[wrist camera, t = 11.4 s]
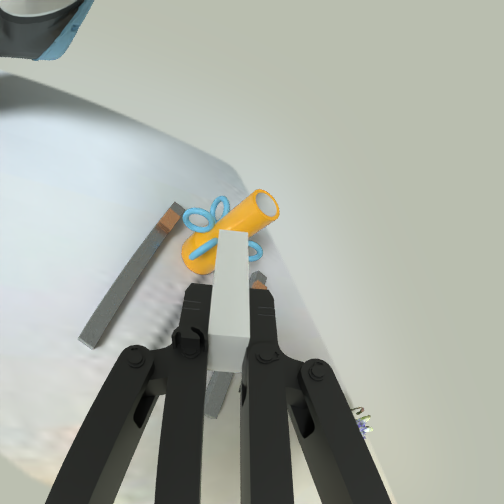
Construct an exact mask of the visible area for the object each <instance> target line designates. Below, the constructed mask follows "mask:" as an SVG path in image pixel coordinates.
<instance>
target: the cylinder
mask: <svg viewBox="0 0 504 504" xmlns="http://www.w3.org/2000/svg"><path fill="white" fill-rule="evenodd" d="M221 201H222V202H223V204H224V211H223V214H222V217H221V218H220V219H219V220H218V221H217V220H216V218H215V211H216V207H217V205H218V204H219V203H220V202H221ZM229 210H230V204H229V201H228V199H227V198H226V197H225V196H219V197H217V198H216V199H215V200H214V201H213V203H212V205H211V209H210V213H209V212H208V211H206V210H204V209H201V208H190V209H188V210H186V211H185V212H184V214H183V222H184V224H185V225H186V226H187V227H188V228H189V229H191V230H192V231H195V233H193V234H192V235H191V236H190V237H189V238H188V239H187V240H186V241H185V242H184V244H183V246H182V253H181V254H182V258H183V261H184V263H185V265H186V266H187V267H188V268H189V269H190V270H191V271H193V272H194V273H197V274H200V275H206V274H209V273H211V272H213V271H214V270H215V262H216V254H217V245H218V237H219V229H221V230H230V231H239V232H248V238H250V237H251V236H253V235H254V234H256V233H257V232H258V231H260V230H261V229H263V228H264V227H266V226H267V225H269V224H270V223H271V222H273V221H275V220H276V219H277V218H278V217H279V207H278V204H277V203H276V201H275V199H274V198H273V197H272V196H271V195H270V194H269V193H268V192H266V191H264V190H261V189H258V190H255V191H254V192H253V193H252V194H250V195H249V196H248V197H247V198H246V199H244V200H243V201H242V202H241V203H240V204H238V205H237V206H236V207H235V208H234V209H232V210H231V211H230V212H229ZM191 214H199V215H202V216H204V217H205V218H206V219H207V220H208V221H209V225H206V226H203V227H199V226H196V225H194V224H192V223H191V222H190V221H189V216H190V215H191ZM248 246H250V247H252V248H254V249H255V250H256V251H257V254H256V255H254V256H249V262H252V261H256V260H259V259H260V258H261V257H262V255H263V250H262V248H261V247H260V245H258V244H257V243H255V242H253V241H250V240H248Z"/></svg>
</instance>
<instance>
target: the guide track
mask: <svg viewBox="0 0 504 504" xmlns="http://www.w3.org/2000/svg"><path fill="white" fill-rule="evenodd" d="M184 211H185V209H183V208H182V207H181V206H180V205H179V204H177V203H176V202H174V203H173V204H172V205H171V207H170V208H169V209H168V210H167V212H166V213H165V214H164V215H163V217H162V218H161V219H160V221H159V222H158V223H157V224H156V226H155V227H154V228H153V230H152V231H151V232H150V234H149V235H148V236H147V237H146V239H145V240H144V241H143V243H142V244H141V246H140V247H139V248H138V250H137V251H136V252H135V254H134V255H133V256H132V258H131V259H130V261H129V262H128V263H127V265H126V266H125V268H124V269H123V270H122V272H121V273H120V275H119V276H118V278H117V279H116V280H115V282H114V283H113V285H112V286H111V288H110V289H109V291H108V292H107V294H106V295H105V297H104V298H103V300H102V301H101V303H100V304H99V306H98V307H97V309H96V310H95V312H94V313H93V315H92V317H91V318H90V320H89V321H88V323H87V324H86V326H85V328H84V329H83V331H82V333H81V334H80V336H79V337H78V340H79V341H81V342H82V343H83V344H85V345H86V346H88V347H89V348H90V349H93V348H94V347H95V346H96V344H97V342H98V340H99V339H100V337H101V335H102V334H103V332H104V330H105V329H106V327H107V325H108V324H109V322H110V320H111V319H112V317H113V315H114V314H115V312H116V311H117V309H118V307H119V306H120V304H121V303H122V301H123V299H124V298H125V296H126V295H127V293H128V292H129V290H130V288H131V287H132V285H133V284H134V282H135V281H136V279H137V278H138V276H139V275H140V273H141V272H142V270H143V269H144V267H145V266H146V264H147V263H148V261H149V260H150V258H151V257H152V256H153V254H154V253H155V251H156V250H157V248H158V247H159V245H160V244H161V243H162V241H163V240H164V238H165V237H166V236H167V234H168V233H169V232H170V231H171V230H172V228H173V227H174V225H175V224H176V223H177V221H178V220H179V218H180V216H181V215H182V213H183V212H184ZM266 279H267V277H265V276H264V275H263V274H262V273H261V272H259V271H256V272H255V273H253V274H252V276H251V278H250V281H249V288H255V289H266V290H267V287H266V286H265V282H266ZM233 373H234V372H221V371H214V373H213V375H212V378H211V380H210V383H209V385H208V388H207V390H206V393H205V408H204V415H205V416H207V417H209V418H214V419H217V416H218V414H219V411H220V408H221V406H222V403H223V400H224V398H225V395H226V392H227V389H228V387H229V384H230V381H231V379H232V376H233Z"/></svg>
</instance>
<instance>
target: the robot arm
mask: <svg viewBox="0 0 504 504" xmlns="http://www.w3.org/2000/svg"><path fill="white" fill-rule="evenodd" d="M93 2H94V0H0V57H11V58H24V59H32V60H34V61H38V60H56V59H58V58H59V57H61V56H62V55H63V54H64V53H65V51H66V50H67V48H68V47H69V45H70V43H71V42H72V40H73V38H74V37H75V35H76V33H77V31H78V28H79V26H80V25H81V23H82V22H83V20H84V19H85V17H86V15H87V13H88V11H89V10H90V7H91V6H92V4H93ZM207 370H210V371H221V372H235V373H241V371H242V381H241V384H240V388H239V392H240V476H241V504H294V495H293V480H292V465H291V451H290V438H289V425H288V413H287V409H288V412H289V415H290V418H291V420H292V423H293V426H294V429H295V432H296V434H297V437H298V440H299V443H300V445H301V448H302V451H303V453H304V456H305V459H306V462H307V464H308V467H309V470H310V472H311V475H312V478H313V480H314V483H315V486H316V488H317V491H318V494H319V496H320V499H321V502H322V504H392V503H391V501H390V499H389V496H388V494H387V491H386V489H385V487H384V484H383V482H382V480H381V477H380V475H379V473H378V470H377V468H376V466H375V463H374V461H373V459H372V457H371V454H370V452H369V450H368V447H367V445H366V443H365V441H364V438H363V436H362V434H361V432H360V429H359V427H358V425H357V423H356V420H355V418H354V416H353V414H352V412H351V409H350V407H349V405H348V403H347V401H346V398H345V396H344V394H343V392H342V390H341V387H340V385H339V383H338V381H337V379H336V377H335V374H334V372H333V370H332V368H331V367H330V366H329V364H327V363H326V362H325V361H323V360H320V359H310V360H308V361H306V362H305V363H304V362H301V361H298V360H294V359H292V358H289V357H288V356H286V355H285V354H284V353H283V352H282V351H281V350H280V348H279V346H278V340H277V329H276V319H275V309H274V298H273V297H272V295H271V293H270V292H269V290H266V289H255V288H249V252H248V232H239V231H230V230H221V229H219V237H218V245H217V254H216V262H215V271H214V280H213V285H206V284H197V283H191V284H190V286H189V287H188V288H187V289H186V291H185V296H184V302H183V306H182V312H181V317H180V323H179V327H177V328H176V329H175V330H174V332H173V334H172V344H171V345H170V346H168V347H166V348H162V349H157V350H150V351H149V349H147V348H146V347H144V346H140V345H133V346H129V347H127V348H125V349H124V350H123V351H122V353H121V354H120V356H119V357H118V359H117V361H116V363H115V364H114V366H113V368H112V370H111V372H110V373H109V375H108V377H107V379H106V381H105V382H104V384H103V386H102V388H101V390H100V391H99V393H98V395H97V397H96V399H95V401H94V403H93V404H92V406H91V408H90V410H89V412H88V414H87V416H86V418H85V420H84V422H83V424H82V426H81V428H80V429H79V431H78V433H77V435H76V437H75V439H74V441H73V444H72V446H71V448H70V450H69V452H68V454H67V456H66V458H65V460H64V462H63V464H62V466H61V469H60V471H59V473H58V475H57V477H56V480H55V482H54V484H53V486H52V489H51V491H50V493H49V496H48V498H47V500H46V503H45V504H113V503H114V500H115V498H116V495H117V493H118V490H119V488H120V486H121V483H122V481H123V478H124V476H125V473H126V471H127V469H128V466H129V464H130V462H131V459H132V457H133V454H134V452H135V450H136V447H137V445H138V443H139V440H140V438H141V436H142V434H143V431H144V429H145V427H146V424H147V422H148V420H149V417H150V415H151V413H152V411H153V408H154V406H155V404H156V402H157V399H158V397H159V395H164V394H166V397H165V404H164V412H163V420H162V428H161V436H160V445H159V455H158V465H157V477H156V489H155V503H154V504H200V499H201V468H202V445H203V425H204V408H205V393H206V376H207Z"/></svg>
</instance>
